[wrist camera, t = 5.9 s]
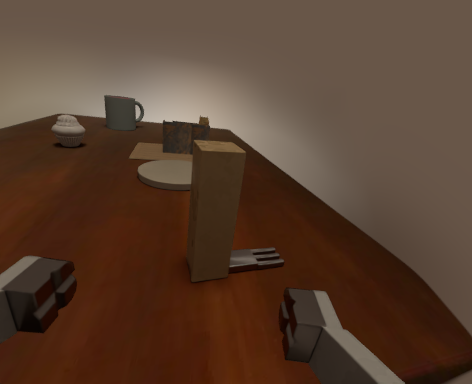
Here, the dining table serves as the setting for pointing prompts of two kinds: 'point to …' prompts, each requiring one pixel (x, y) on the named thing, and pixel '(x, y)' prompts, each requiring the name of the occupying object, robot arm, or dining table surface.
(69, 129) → the muffin
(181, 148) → the ruin model on sheet
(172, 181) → the plate
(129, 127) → the mug
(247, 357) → the dining table surface
